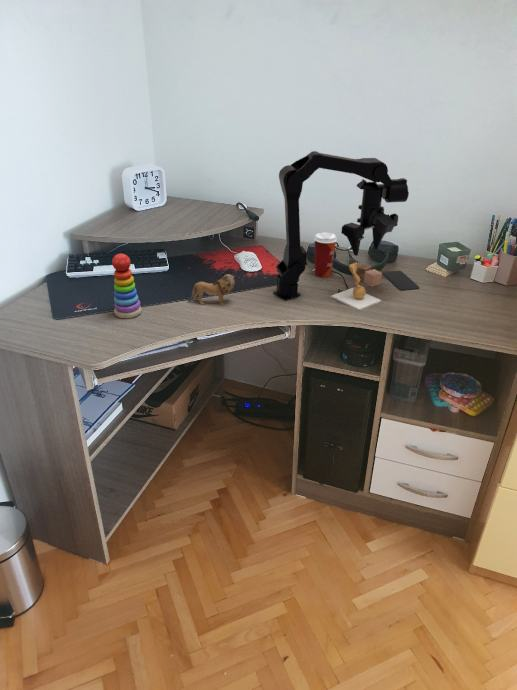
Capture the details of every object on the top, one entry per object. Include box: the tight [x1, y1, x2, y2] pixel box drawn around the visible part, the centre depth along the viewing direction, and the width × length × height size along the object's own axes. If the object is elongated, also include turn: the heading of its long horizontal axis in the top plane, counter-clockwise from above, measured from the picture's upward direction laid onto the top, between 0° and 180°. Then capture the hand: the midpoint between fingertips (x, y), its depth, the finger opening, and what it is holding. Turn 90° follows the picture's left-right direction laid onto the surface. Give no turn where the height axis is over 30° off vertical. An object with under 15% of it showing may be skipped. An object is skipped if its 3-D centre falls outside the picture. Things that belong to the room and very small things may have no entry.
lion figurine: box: [187, 273, 236, 306], centre depth 168 cm, size 15×5×9 cm, turn 96°
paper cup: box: [313, 231, 338, 279], centre depth 186 cm, size 8×8×14 cm
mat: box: [330, 287, 382, 311], centre depth 172 cm, size 12×10×1 cm
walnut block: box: [353, 263, 372, 281], centre depth 187 cm, size 4×4×4 cm
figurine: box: [348, 261, 367, 299], centre depth 169 cm, size 8×6×12 cm
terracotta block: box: [363, 268, 383, 287], centre depth 183 cm, size 4×4×4 cm
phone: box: [381, 270, 420, 292], centre depth 185 cm, size 7×1×15 cm
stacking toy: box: [111, 253, 142, 319], centre depth 158 cm, size 8×8×19 cm
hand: (365, 252), depth 172 cm, fingers open, 9 cm apart
